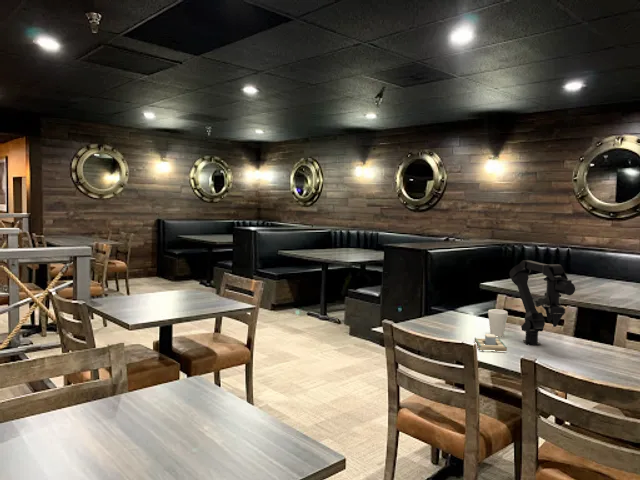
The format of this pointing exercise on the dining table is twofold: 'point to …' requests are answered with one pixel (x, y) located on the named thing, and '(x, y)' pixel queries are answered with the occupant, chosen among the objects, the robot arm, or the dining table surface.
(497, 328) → the foam cup
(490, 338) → the grey and beige block
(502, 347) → the well
